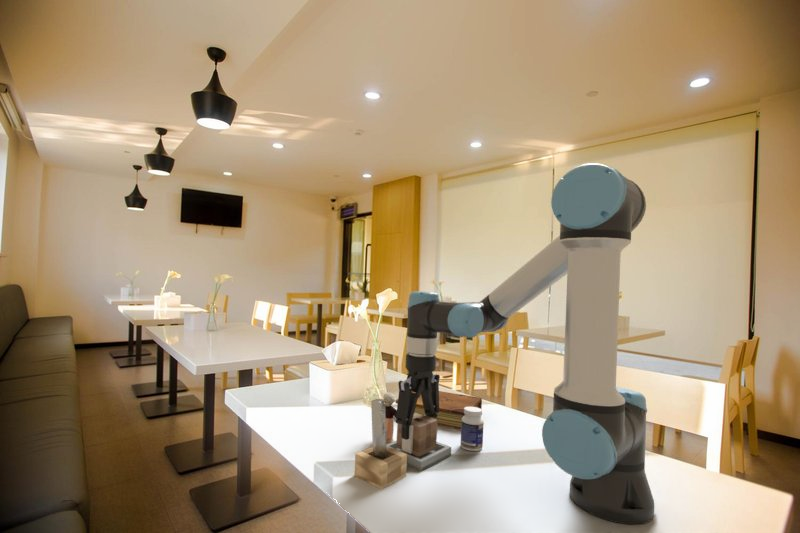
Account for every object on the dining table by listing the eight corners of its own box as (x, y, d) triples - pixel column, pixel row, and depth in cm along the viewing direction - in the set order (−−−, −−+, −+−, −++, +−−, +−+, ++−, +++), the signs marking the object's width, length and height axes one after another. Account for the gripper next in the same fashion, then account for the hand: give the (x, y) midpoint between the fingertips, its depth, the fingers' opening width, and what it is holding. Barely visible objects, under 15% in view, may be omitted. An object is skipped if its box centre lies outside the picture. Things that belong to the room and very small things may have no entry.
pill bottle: (482, 453, 104) (484, 413, 104) (459, 450, 105) (461, 411, 105) (482, 444, 110) (484, 406, 110) (461, 441, 111) (462, 404, 111)
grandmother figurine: (370, 440, 109) (373, 392, 109) (376, 435, 113) (378, 389, 113) (398, 445, 106) (400, 396, 107) (403, 440, 110) (405, 392, 110)
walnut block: (436, 448, 102) (437, 420, 102) (418, 457, 97) (420, 427, 97) (414, 439, 107) (415, 412, 107) (396, 447, 101) (397, 419, 101)
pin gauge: (390, 472, 90) (387, 401, 89) (378, 478, 88) (376, 405, 87) (382, 466, 92) (379, 397, 91) (370, 472, 90) (368, 401, 89)
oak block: (406, 477, 90) (406, 454, 91) (380, 490, 84) (381, 465, 84) (379, 465, 96) (380, 443, 96) (354, 476, 90) (355, 453, 90)
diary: (481, 414, 136) (482, 397, 136) (466, 433, 119) (467, 413, 119) (416, 402, 146) (417, 386, 146) (394, 418, 129) (395, 399, 129)
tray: (451, 455, 102) (451, 447, 102) (421, 470, 93) (421, 461, 93) (413, 441, 110) (413, 433, 110) (382, 454, 101) (383, 446, 101)
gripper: (432, 347, 112) (429, 432, 112) (382, 355, 97) (377, 454, 97) (456, 351, 107) (452, 440, 107) (406, 361, 92) (402, 464, 92)
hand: (417, 446), depth 102 cm, fingers closed on walnut block, 7 cm apart
